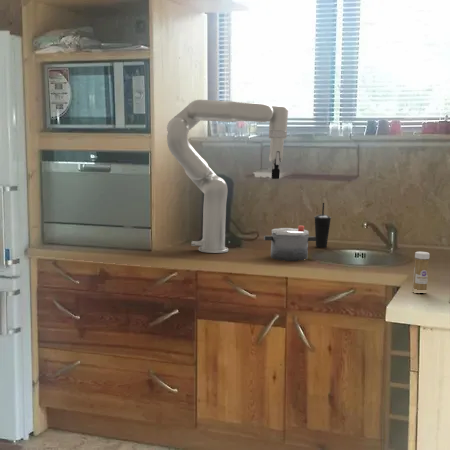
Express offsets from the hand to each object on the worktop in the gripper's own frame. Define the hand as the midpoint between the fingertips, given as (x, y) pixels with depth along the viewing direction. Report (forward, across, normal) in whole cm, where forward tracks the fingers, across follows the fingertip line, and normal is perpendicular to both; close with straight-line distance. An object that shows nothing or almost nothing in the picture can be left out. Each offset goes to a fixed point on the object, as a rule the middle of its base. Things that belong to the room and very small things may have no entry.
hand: (275, 178), depth 299 cm
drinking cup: (+31, -14, +24) cm, 42 cm away
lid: (+21, +15, +6) cm, 27 cm away
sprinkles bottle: (+31, +75, +41) cm, 91 cm away
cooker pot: (+31, +15, +6) cm, 35 cm away
